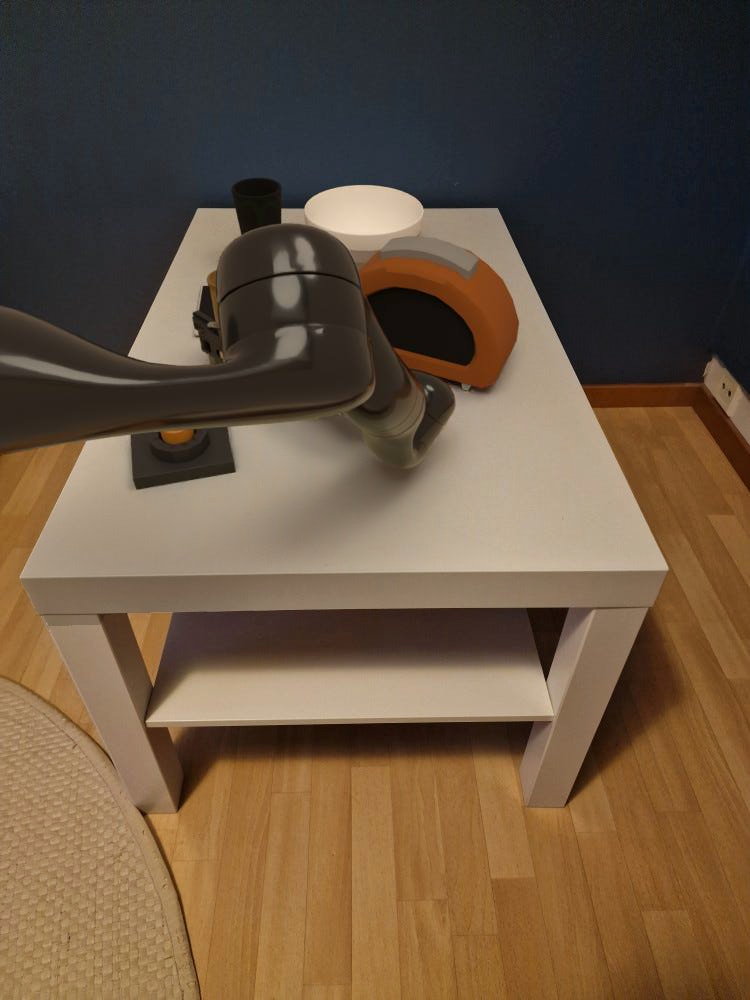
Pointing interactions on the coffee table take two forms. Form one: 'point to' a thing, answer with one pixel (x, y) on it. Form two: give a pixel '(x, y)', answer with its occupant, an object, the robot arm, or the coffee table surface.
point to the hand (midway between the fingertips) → (222, 306)
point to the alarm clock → (442, 309)
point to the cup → (257, 203)
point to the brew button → (177, 436)
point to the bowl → (365, 217)
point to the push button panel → (180, 457)
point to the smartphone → (205, 303)
